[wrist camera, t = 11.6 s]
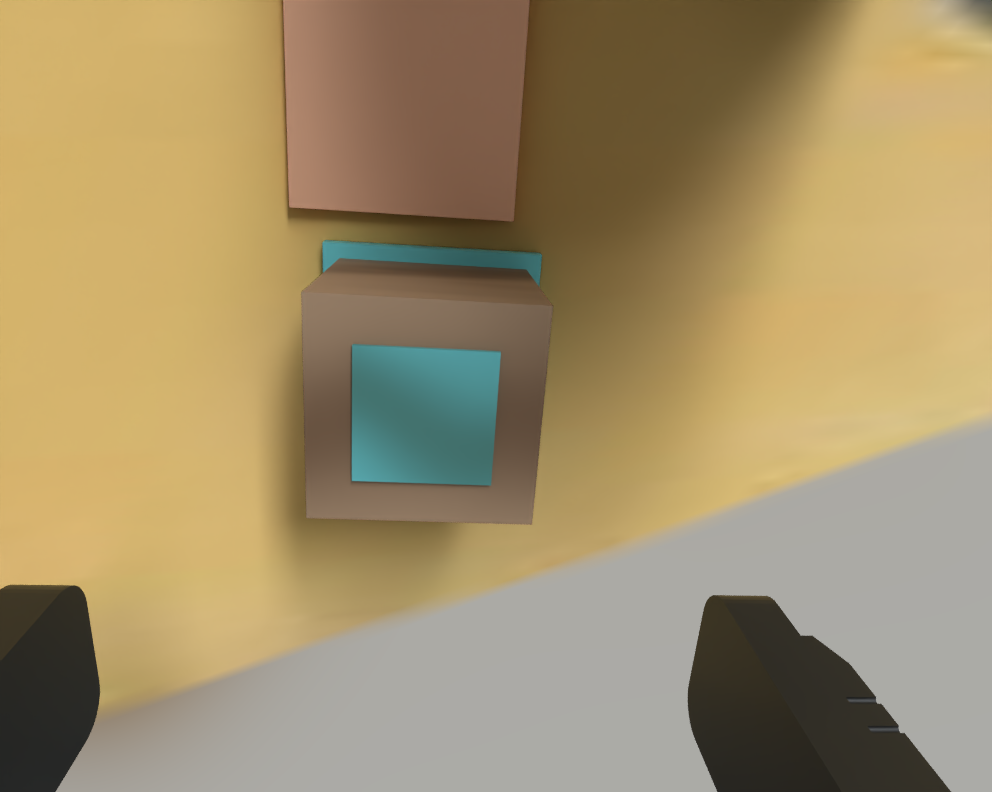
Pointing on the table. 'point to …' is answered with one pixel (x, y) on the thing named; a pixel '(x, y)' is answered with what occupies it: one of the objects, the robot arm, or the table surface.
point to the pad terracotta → (405, 105)
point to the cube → (423, 391)
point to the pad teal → (432, 255)
